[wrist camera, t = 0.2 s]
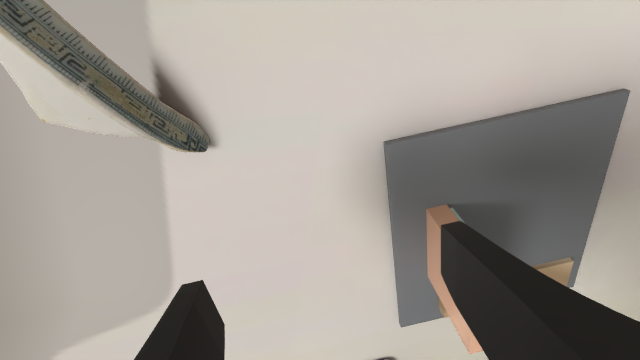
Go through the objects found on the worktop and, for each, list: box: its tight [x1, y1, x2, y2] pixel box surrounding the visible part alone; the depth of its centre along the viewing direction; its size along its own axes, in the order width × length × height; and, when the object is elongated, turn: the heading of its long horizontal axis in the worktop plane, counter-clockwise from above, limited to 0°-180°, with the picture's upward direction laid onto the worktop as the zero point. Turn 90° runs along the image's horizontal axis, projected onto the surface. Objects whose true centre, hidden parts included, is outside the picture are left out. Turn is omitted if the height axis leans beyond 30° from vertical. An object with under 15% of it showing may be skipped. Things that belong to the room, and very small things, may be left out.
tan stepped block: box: [439, 257, 574, 318], centre depth 27 cm, size 3×10×1 cm, turn 100°
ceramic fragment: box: [0, 0, 209, 152], centre depth 15 cm, size 14×5×4 cm, turn 37°
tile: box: [426, 204, 483, 354], centre depth 21 cm, size 6×2×6 cm, turn 10°
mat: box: [384, 89, 630, 327], centre depth 24 cm, size 16×14×1 cm
